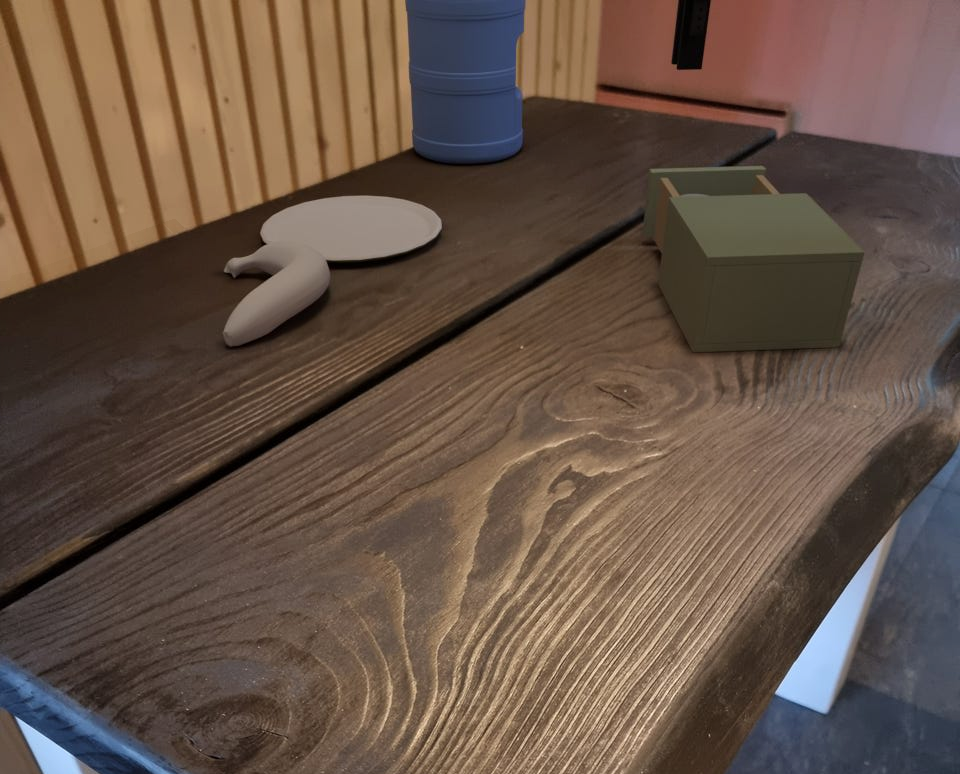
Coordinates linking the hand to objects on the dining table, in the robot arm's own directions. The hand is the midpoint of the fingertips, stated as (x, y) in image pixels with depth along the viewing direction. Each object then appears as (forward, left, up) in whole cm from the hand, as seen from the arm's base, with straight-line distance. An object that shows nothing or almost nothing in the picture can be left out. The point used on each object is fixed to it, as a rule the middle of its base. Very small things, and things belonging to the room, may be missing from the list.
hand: (686, 65), depth 105 cm
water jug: (+24, -24, -15) cm, 37 cm away
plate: (+39, +9, -15) cm, 43 cm away
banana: (+48, +28, -15) cm, 57 cm away
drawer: (0, +19, -14) cm, 23 cm away
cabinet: (0, +34, -14) cm, 37 cm away
